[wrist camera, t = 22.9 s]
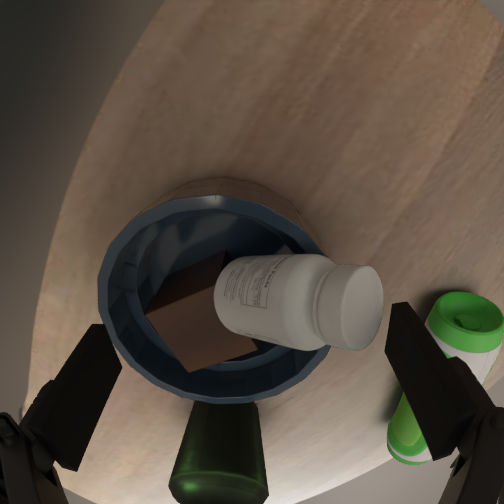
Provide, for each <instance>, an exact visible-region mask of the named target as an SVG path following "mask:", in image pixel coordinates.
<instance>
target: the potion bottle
mask: <svg viewBox="0 0 504 504" xmlns="http://www.w3.org/2000/svg"><path fill="white" fill-rule="evenodd" d="M168 486H169V489H170V491H171V493H172V496H173V497H174V498H175V499H176V501H177V502H178V503H180V504H263V503H264V502H265V500H266V499H267V497H268V496H269V492H268V484H267V477H266V469H265V461H264V453H263V445H262V437H261V429H260V421H259V413H258V408H257V407H256V406H255V404H254V403H253V402H250V403H238V404H212V403H207V402H202V401H197V400H196V401H195V402H194V405H193V408H192V411H191V414H190V417H189V420H188V424H187V427H186V430H185V433H184V436H183V439H182V442H181V446H180V449H179V452H178V455H177V458H176V461H175V465H174V468H173V471H172V474H171V477H170V481H169V485H168Z"/></svg>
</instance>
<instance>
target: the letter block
mask: <svg viewBox="0 0 504 504" xmlns="http://www.w3.org/2000/svg"><path fill="white" fill-rule="evenodd" d="M230 262H232V260H231V258H230V256H229V254H228V252H227V251H226V250H224V251H222V252H219V253H217V254H215V255H213V256H211V257H208V258H206V259H204V260H202V261H200V262H198V263H195V264H193V265H191V266H189V267H187V268H184V269H182V270H180V271H178V272H176V273H174V274H171V275H169V276H167V277H165V279H164V281H163V282H162V284H161V286H160V288H159V290H158V292H157V293H156V295H155V297H154V299H153V301H152V303H151V304H150V306H149V308H148V310H147V312H146V314H145V316H146V317H147V318H148V320H149V321H150V323H151V324H152V325H153V327H154V328H155V330H156V331H157V332H158V334H159V335H160V336H161V338H162V339H163V340H164V342H165V343H166V344H167V346H168V347H169V348H170V350H171V351H172V352H173V354H174V355H175V356H176V357H177V359H178V360H179V361H180V363H181V364H182V365H183V366H184V368H185V369H186V370H187V371H188V372H192V371H196V370H199V369H202V368H205V367H208V366H212V365H215V364H218V363H221V362H224V361H227V360H230V359H233V358H236V357H239V356H241V355H244V354H247V353H250V352H253V351H256V350H258V339H256V338H252V337H248V336H245V335H241V334H237V333H235V332H233V331H231V330H229V329H228V328H226V327H225V326H224V324H223V323H222V322H221V320H220V319H219V317H218V315H217V312H216V309H215V304H214V290H215V285H216V282H217V280H218V277H219V275H220V273H221V272H222V270H223V269H224V268H225V267H226V266H227V265H228V264H229V263H230Z"/></svg>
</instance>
